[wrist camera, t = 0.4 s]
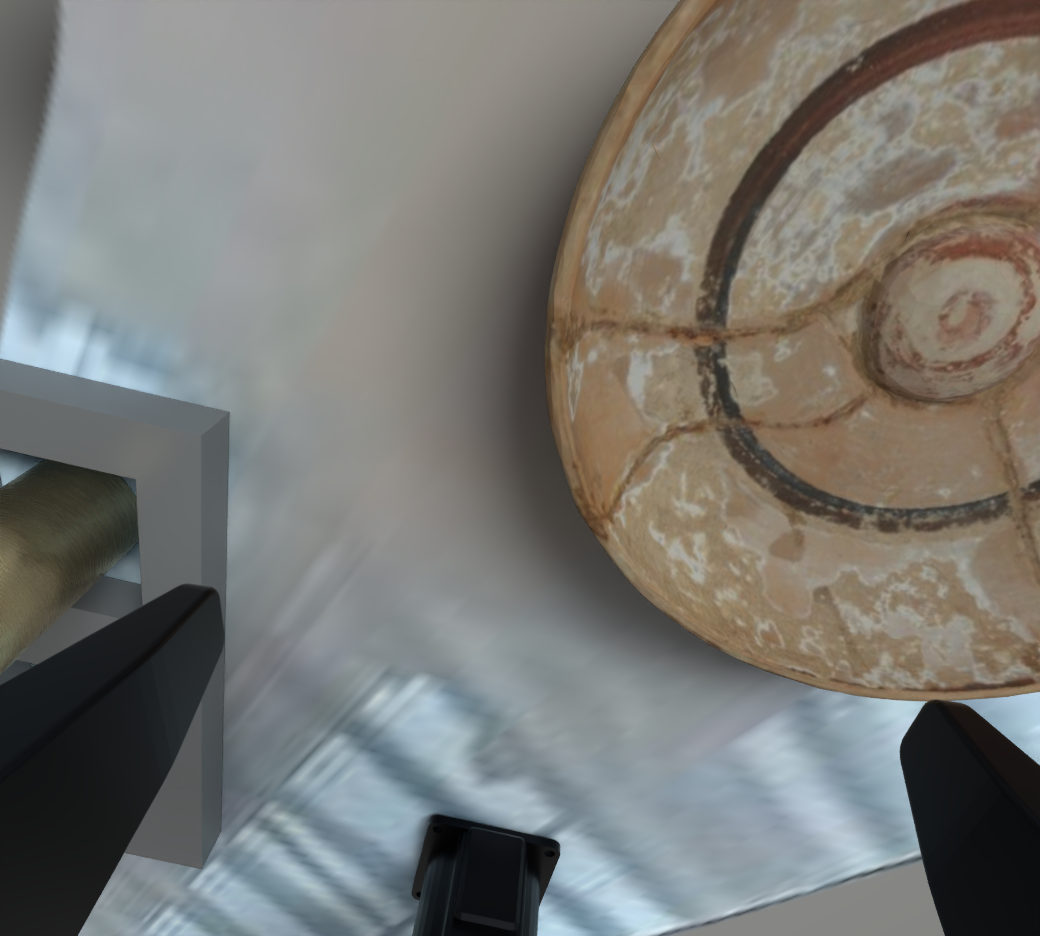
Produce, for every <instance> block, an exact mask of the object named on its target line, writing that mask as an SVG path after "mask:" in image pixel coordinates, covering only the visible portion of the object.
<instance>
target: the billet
mask: <svg viewBox="0 0 1040 936" xmlns="http://www.w3.org/2000/svg"><path fill="white" fill-rule="evenodd" d="M138 541H139V531H138V513H137V497H136V496H135V494H134V493H133V491H132V490H131V488H130V487H129V486H128V485H127V484H126V483H125V481H123V480H122V479H121V478H120V477H119V476H118V475H114V474H110V473H106V472H101V471H97V470H93V469H88V468H84V467H79V466H75V465H71V464H66V463H62V462H58V461H53V460H49V459H45V460H44V461H42V462H40V463H39V464H37V465H36V466H34V467H33V468H31V469H29V470H28V471H26V472H25V473H23V474H22V475H20V476H19V477H17V478H15V479H14V480H12V481H11V482H9V483H8V484H6V485H5V486H3V487H1V488H0V675H1V674H2V673H3V672H4V671H5V670H6V669H7V668H8V667H9V666H10V665H11V664H12V663H13V662H14V661H15V660H16V659H18V658H19V657H20V656H21V655H22V654H23V653H24V652H25V651H26V650H27V649H28V648H29V647H30V646H31V645H32V644H33V643H34V642H35V641H36V640H37V639H38V638H39V637H40V636H41V635H42V634H43V633H44V632H45V631H47V630H48V629H49V628H50V627H51V626H52V625H53V624H54V623H55V622H56V621H57V620H58V619H59V618H60V617H61V616H62V615H63V614H64V613H65V612H66V611H67V610H68V609H69V608H70V607H71V606H72V605H73V604H75V603H76V602H77V601H78V600H79V599H80V598H81V597H82V596H83V595H84V594H85V593H86V592H87V591H88V590H89V589H90V588H91V587H92V586H93V585H94V584H95V583H96V582H97V581H98V580H99V579H100V578H101V577H102V576H104V575H105V574H106V573H107V572H108V571H109V570H110V569H111V568H112V567H113V566H114V565H115V564H116V563H117V562H118V561H119V560H120V559H121V558H122V557H123V556H124V555H125V554H126V553H127V552H128V551H129V550H130V549H131V548H133V547H134V546H135V544H136V543H137V542H138Z"/></svg>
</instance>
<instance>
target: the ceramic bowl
mask: <svg viewBox="0 0 1040 936" xmlns="http://www.w3.org/2000/svg"><path fill="white" fill-rule="evenodd" d="M545 380H546V397H547V405H548V412H549V419H550V424H551V428H552V433H553V438H554V442H555V445H556V448H557V451H558V454H559V457H560V460H561V463H562V466H563V469H564V472H565V475H566V479H567V482H568V485H569V488H570V491H571V494H572V497H573V499H574V502H575V505H576V507H577V509H578V511H579V513H580V514H581V516H582V517H583V519H584V520H585V521H586V523H587V524H588V526H589V527H590V529H591V531H592V532H593V534H594V535H595V537H596V538H597V540H598V541H599V543H600V544H601V545H602V547H603V548H604V550H605V551H606V553H607V554H608V555H609V557H610V558H611V560H612V561H613V562H614V563H615V565H616V566H617V567H618V568H619V570H620V571H621V572H622V574H623V575H624V576H625V577H626V578H627V580H628V581H629V582H630V583H631V584H632V585H633V586H634V587H635V588H636V589H637V590H638V591H639V592H640V593H641V594H642V595H643V596H644V597H645V598H646V599H648V600H649V601H650V602H651V603H652V604H653V605H654V606H655V607H657V608H658V609H659V610H660V611H662V612H663V613H664V614H665V615H666V616H668V617H669V618H670V619H672V620H673V621H675V622H676V623H678V624H679V625H680V626H682V627H683V628H685V629H686V630H688V631H689V632H691V633H692V634H694V635H695V636H697V637H698V638H700V639H701V640H703V641H704V642H706V643H707V644H709V645H711V646H713V647H715V648H717V649H719V650H721V651H723V652H725V653H727V654H728V655H730V656H732V657H735V658H737V659H739V660H741V661H743V662H745V663H748V664H750V665H753V666H755V667H757V668H760V669H762V670H765V671H768V672H770V673H773V674H776V675H779V676H782V677H785V678H788V679H792V680H795V681H798V682H801V683H804V684H807V685H811V686H814V687H817V688H820V689H825V690H830V691H836V692H842V693H846V694H850V695H855V696H863V697H870V698H880V699H891V700H906V701H930V700H934V699H938V700H944V701H952V700H968V699H986V698H998V697H1008V696H1015V695H1021V694H1027V693H1035V692H1040V0H680V1H679V2H678V4H677V5H676V6H675V8H674V9H673V10H672V12H671V13H670V14H669V16H668V17H667V18H666V20H665V21H664V22H663V24H662V25H661V27H660V28H659V29H658V31H657V32H656V33H655V35H654V36H653V38H652V39H651V41H650V43H649V44H648V46H647V47H646V49H645V50H644V52H643V53H642V55H641V56H640V58H639V60H638V61H637V63H636V64H635V66H634V67H633V69H632V71H631V73H630V74H629V76H628V78H627V80H626V81H625V83H624V85H623V87H622V88H621V90H620V92H619V94H618V95H617V97H616V99H615V101H614V103H613V105H612V107H611V109H610V110H609V112H608V114H607V116H606V118H605V120H604V122H603V124H602V126H601V128H600V131H599V133H598V135H597V138H596V140H595V142H594V144H593V147H592V149H591V151H590V154H589V156H588V158H587V161H586V163H585V166H584V168H583V171H582V173H581V176H580V178H579V181H578V183H577V186H576V189H575V192H574V195H573V198H572V201H571V205H570V208H569V211H568V214H567V217H566V221H565V225H564V228H563V232H562V236H561V240H560V243H559V247H558V251H557V255H556V260H555V265H554V269H553V274H552V279H551V285H550V292H549V299H548V307H547V314H546V337H545Z"/></svg>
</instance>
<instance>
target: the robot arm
mask: <svg viewBox="0 0 1040 936" xmlns="http://www.w3.org/2000/svg"><path fill="white" fill-rule="evenodd" d="M224 642H225V630H224V623H223V615H222V608H221V600H220V595H219V593H218V591H217V590H216V589H215V588H213V587H209V586H203V585H196V584H190V583H186V584H181V585H179V586H177V587H175V588H173V589H171V590H170V591H168V592H166V593H164V594H162V595H161V596H159V597H157V598H155V599H153V600H152V601H150V602H148V603H146V604H144V605H143V606H141V607H139V608H137V609H135V610H134V611H132V612H130V613H128V614H126V615H125V616H123V617H121V618H119V619H117V620H116V621H114V622H112V623H110V624H108V625H107V626H105V627H103V628H101V629H99V630H98V631H96V632H94V633H92V634H90V635H89V636H87V637H85V638H83V639H82V640H80V641H78V642H76V643H74V644H73V645H71V646H69V647H67V648H65V649H64V650H62V651H60V652H58V653H56V654H55V655H53V656H51V657H49V658H47V659H46V660H44V661H42V662H40V663H38V664H37V665H35V666H33V667H31V668H29V669H28V670H26V671H24V672H22V673H20V674H19V675H17V676H15V677H13V678H11V679H10V680H8V681H6V682H4V683H2V684H1V685H0V936H78V934H79V932H80V931H81V929H82V927H83V925H84V923H85V922H86V920H87V918H88V916H89V915H90V913H91V911H92V909H93V907H94V906H95V904H96V902H97V900H98V898H99V897H100V895H101V893H102V891H103V890H104V888H105V886H106V884H107V882H108V881H109V879H110V877H111V875H112V874H113V872H114V870H115V868H116V866H117V865H118V863H119V861H120V859H121V858H122V856H123V854H124V852H125V850H126V849H127V847H128V845H129V843H130V842H131V840H132V838H133V836H134V834H135V833H136V831H137V829H138V827H139V826H140V824H141V822H142V820H143V818H144V817H145V815H146V813H147V811H148V810H149V808H150V806H151V804H152V802H153V801H154V799H155V797H156V795H157V794H158V792H159V790H160V788H161V786H162V785H163V783H164V781H165V779H166V777H167V775H168V773H169V771H170V770H171V768H172V766H173V764H174V762H175V759H176V757H177V755H178V753H179V751H180V749H181V746H182V744H183V742H184V739H185V737H186V735H187V732H188V730H189V728H190V726H191V723H192V721H193V719H194V716H195V714H196V712H197V709H198V707H199V705H200V702H201V700H202V698H203V695H204V693H205V691H206V688H207V686H208V684H209V681H210V679H211V677H212V674H213V672H214V670H215V667H216V665H217V663H218V660H219V658H220V656H221V653H222V650H223V647H224ZM900 761H901V766H902V770H903V775H904V779H905V784H906V788H907V793H908V797H909V802H910V806H911V811H912V815H913V820H914V824H915V829H916V833H917V838H918V842H919V847H920V851H921V855H922V860H923V864H924V868H925V872H926V876H927V880H928V884H929V887H930V890H931V894H932V897H933V900H934V904H935V907H936V910H937V913H938V916H939V919H940V922H941V925H942V928H943V931H944V934H945V936H1040V765H1039V764H1037V763H1036V762H1035V761H1034V760H1033V759H1031V758H1030V757H1029V756H1028V755H1027V754H1025V753H1024V752H1023V751H1022V750H1021V749H1020V748H1018V747H1017V746H1016V745H1015V744H1014V743H1012V742H1011V741H1010V740H1009V739H1008V738H1006V737H1005V736H1004V735H1003V734H1002V733H1000V732H999V731H998V730H997V729H996V728H995V727H993V726H992V725H991V724H990V723H989V722H987V721H986V720H985V719H984V718H983V717H981V716H980V715H979V714H978V713H977V712H976V711H974V710H973V709H972V708H970V707H969V706H967V705H965V704H962V703H957V702H951V701H944V700H938V699H934V700H930V701H928V702H927V703H925V705H924V706H923V707H922V709H921V710H920V712H919V714H918V715H917V717H916V718H915V720H914V722H913V723H912V725H911V726H910V728H909V729H908V731H907V733H906V734H905V736H904V737H903V739H902V742H901V746H900ZM559 857H560V844H559V843H558V842H557V841H555V840H552V839H547V838H543V837H538V836H534V835H529V834H524V833H520V832H515V831H511V830H506V829H501V828H497V827H492V826H488V825H483V824H478V823H474V822H469V821H465V820H460V819H455V818H451V817H446V816H442V815H435V816H432V817H431V818H430V820H429V824H428V828H427V832H426V836H425V840H424V844H423V848H422V852H421V856H420V860H419V864H418V868H417V872H416V876H415V880H414V884H413V888H412V896H413V897H414V898H415V899H417V900H420V901H419V905H418V910H417V915H416V920H415V925H414V930H413V935H412V936H537V930H538V911H539V906H540V903H541V901H542V898H543V896H544V893H545V891H546V889H547V886H548V884H549V881H550V879H551V876H552V874H553V871H554V869H555V866H556V864H557V862H558V859H559Z"/></svg>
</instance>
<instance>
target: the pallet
mask: <svg viewBox="0 0 1040 936" xmlns="http://www.w3.org/2000/svg"><path fill="white" fill-rule="evenodd" d="M0 448H1V449H5V450H10V451H14V452H18V453H23V454H27V455H32V456H36V457H40V458H45V459H49V460H53V461H58V462H62V463H66V464H71V465H75V466H79V467H84V468H88V469H93V470H97V471H101V472H106V473H110V474H114V475H119V476H123V477H127V478H132V479H136V494H137V513H138V531H139V549H140V568H141V585H140V584H136V583H131V582H127V581H122V580H118V579H114V578H109V577H105V576H102V577H101V578H100V579H99V580H98V581H97V582H96V583H95V584H94V585H93V586H92V587H91V588H90V589H89V590H88V591H87V592H86V593H85V594H84V595H83V596H82V597H81V598H80V599H79V600H78V601H77V602H76V603H75V604H73V605H72V606H71V607H70V608H69V609H68V610H67V611H66V612H65V613H64V614H63V615H62V616H61V617H60V618H59V619H58V620H57V621H56V622H55V623H54V624H53V625H52V626H51V627H50V628H49V629H48V630H47V631H45V632H44V633H43V634H42V635H41V636H40V637H39V638H38V639H37V640H36V641H35V642H34V643H33V644H32V645H31V646H30V647H29V648H28V649H27V650H26V651H25V652H24V653H23V654H22V655H21V656H20V657H19V658H18V659H16V660H15V661H14V662H13V663H12V664H11V665H10V666H9V667H8V668H7V669H6V670H5V671H4V672H3V673H2V674H1V675H0V685H1V684H2V683H4V682H6V681H8V680H10V679H11V678H13V677H15V676H17V675H19V674H20V673H22V672H24V671H26V670H28V669H29V668H31V663H33V664H38V663H40V662H42V661H44V660H46V659H47V658H49V657H51V656H53V655H55V654H56V653H58V652H60V651H62V650H64V649H65V648H67V647H69V646H71V645H73V644H74V643H76V642H78V641H80V640H82V639H83V638H85V637H87V636H89V635H90V634H92V633H94V632H96V631H98V630H99V629H101V628H103V627H105V626H107V625H108V624H110V623H112V622H114V621H116V620H117V619H119V618H121V617H123V616H125V615H126V614H128V613H130V612H132V611H134V610H135V609H137V608H139V607H141V606H143V605H144V604H146V603H148V602H150V601H152V600H153V599H155V598H157V597H159V596H161V595H162V594H164V593H166V592H168V591H170V590H171V589H173V588H175V587H177V586H179V585H181V584H186V583H190V584H196V585H203V586H209V587H213V588H215V589H216V590H217V591H218V593H219V595H220V600H221V608H222V615H223V623H224V630H225V607H226V555H227V504H228V453H229V412H226V411H221V410H217V409H213V408H209V407H204V406H200V405H196V404H191V403H187V402H183V401H179V400H174V399H170V398H166V397H162V396H157V395H153V394H149V393H144V392H140V391H136V390H132V389H127V388H123V387H119V386H114V385H110V384H106V383H102V382H97V381H93V380H89V379H84V378H80V377H76V376H72V375H67V374H63V373H59V372H54V371H50V370H46V369H42V368H37V367H33V366H29V365H24V364H20V363H16V362H12V361H7V360H3V359H0ZM1 487H2V485H1V479H0V488H1ZM224 658H225V642H224V647H223V650H222V653H221V656H220V658H219V660H218V663H217V665H216V667H215V670H214V672H213V674H212V677H211V679H210V681H209V684H208V686H207V688H206V691H205V693H204V695H203V698H202V700H201V702H200V705H199V707H198V709H197V712H196V714H195V716H194V719H193V721H192V723H191V726H190V728H189V730H188V732H187V735H186V737H185V739H184V742H183V744H182V746H181V749H180V751H179V753H178V755H177V757H176V759H175V762H174V764H173V766H172V768H171V770H170V771H169V773H168V775H167V777H166V779H165V781H164V783H163V785H162V786H161V788H160V790H159V792H158V794H157V795H156V797H155V799H154V801H153V802H152V804H151V806H150V808H149V810H148V811H147V813H146V815H145V817H144V818H143V820H142V822H141V824H140V826H139V827H138V829H137V831H136V833H135V834H134V836H133V838H132V840H131V842H130V843H129V845H128V847H127V849H126V850H125V852H124V853H128V854H133V855H138V856H142V857H147V858H152V859H156V860H161V861H166V862H170V863H175V864H180V865H185V866H189V867H194V868H199V869H202V868H203V866H204V864H205V862H206V860H207V858H208V856H209V854H210V852H211V850H212V848H213V846H214V844H215V842H216V840H217V838H218V836H219V834H220V832H221V812H222V760H223V709H224Z"/></svg>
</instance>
